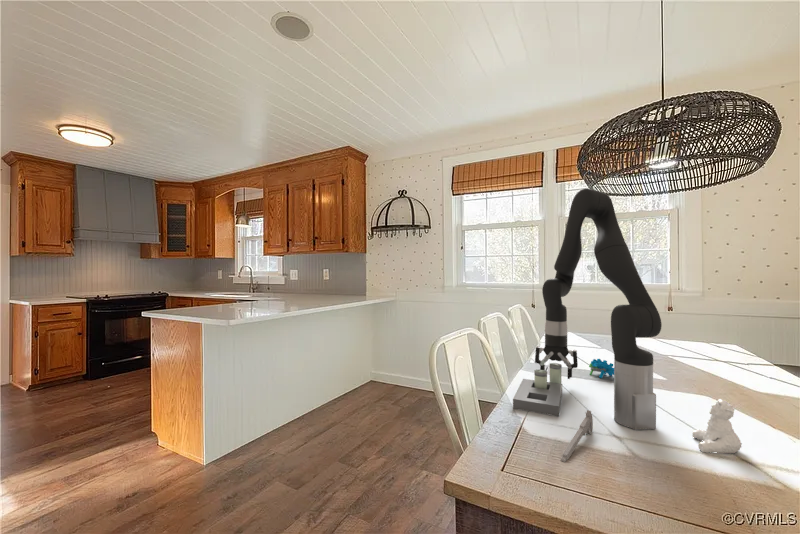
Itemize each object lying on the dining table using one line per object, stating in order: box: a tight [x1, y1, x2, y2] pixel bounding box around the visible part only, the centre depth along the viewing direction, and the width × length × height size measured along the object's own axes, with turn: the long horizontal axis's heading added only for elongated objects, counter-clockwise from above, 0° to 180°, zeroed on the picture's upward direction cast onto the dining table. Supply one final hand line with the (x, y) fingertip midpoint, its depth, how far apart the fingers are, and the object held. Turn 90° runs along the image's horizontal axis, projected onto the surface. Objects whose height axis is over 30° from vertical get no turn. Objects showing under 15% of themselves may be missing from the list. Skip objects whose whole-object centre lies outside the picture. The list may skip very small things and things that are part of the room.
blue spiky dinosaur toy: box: [588, 358, 614, 379], centre depth 142 cm, size 11×6×10 cm
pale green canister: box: [548, 362, 563, 384], centre depth 132 cm, size 4×4×8 cm
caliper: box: [560, 409, 594, 463], centre depth 89 cm, size 20×1×6 cm, turn 136°
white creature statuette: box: [692, 398, 743, 454], centre depth 87 cm, size 10×9×12 cm
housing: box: [512, 369, 563, 417], centre depth 118 cm, size 22×13×8 cm, turn 153°
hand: (555, 376), depth 132 cm, fingers open, 8 cm apart
